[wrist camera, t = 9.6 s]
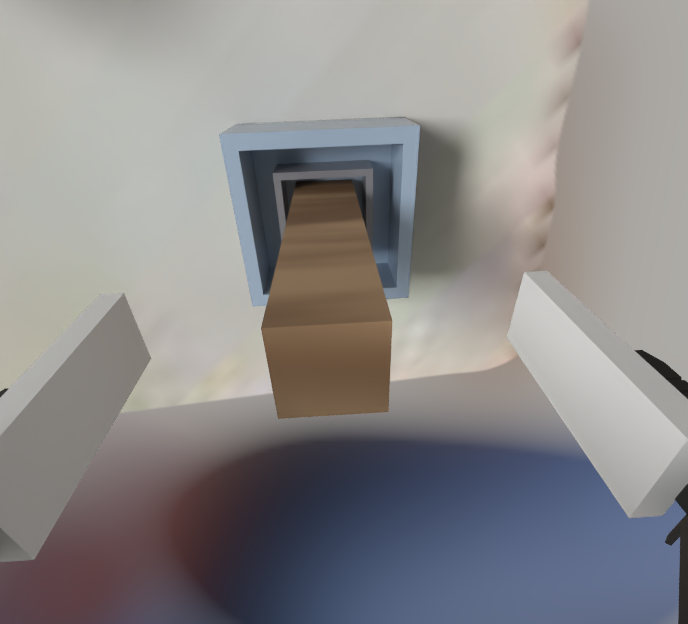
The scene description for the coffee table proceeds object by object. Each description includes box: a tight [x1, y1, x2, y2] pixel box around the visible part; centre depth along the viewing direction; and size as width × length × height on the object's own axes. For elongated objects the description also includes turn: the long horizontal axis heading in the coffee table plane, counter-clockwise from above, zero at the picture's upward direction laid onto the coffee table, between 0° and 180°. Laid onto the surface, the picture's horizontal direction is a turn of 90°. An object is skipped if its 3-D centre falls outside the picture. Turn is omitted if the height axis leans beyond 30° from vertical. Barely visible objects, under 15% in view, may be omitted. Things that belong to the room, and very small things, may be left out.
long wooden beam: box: [261, 179, 392, 419], centre depth 18 cm, size 4×4×16 cm
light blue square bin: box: [219, 117, 420, 306], centre depth 23 cm, size 10×10×4 cm
